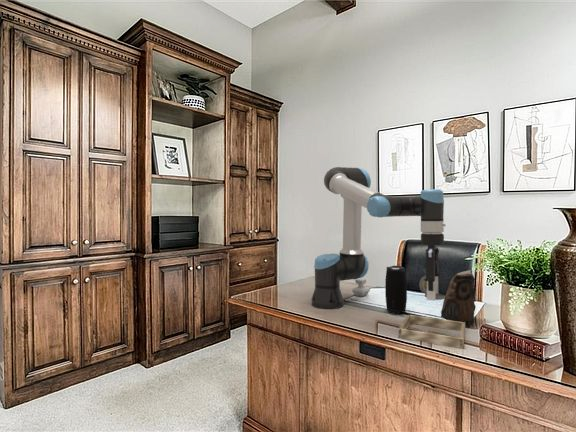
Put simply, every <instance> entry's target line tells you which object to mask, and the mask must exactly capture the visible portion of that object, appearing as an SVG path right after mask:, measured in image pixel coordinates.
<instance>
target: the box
mask: <svg viewBox="0 0 576 432" xmlns="http://www.w3.org/2000/svg"><path fill="white" fill-rule="evenodd" d="M411 324H414V325H419V326H427V327H432V328H440V329H445V330H446V329H447V330H453V331H460V334H459V337H458V336H450V335H445V334H444V335H443V334H439V333H433V332H426V331H419V330H413V329H408V328H409V327H410V325H411ZM465 337H466V326H465V322H458V321H451V320H445V319H444V318H435V317H427V316H422V315H421V316H419V315H415V314H414V315H413V314H407V315H406V317H405V318H404V320H403V322H402V323H401V325H400V326H399V328H398V338H400V339H404V340H409V339H411V340H410V341H415V340H417V341H416V342H421V341H423V343H427V342H428V343H427V344H434V345H438V346H446V347H449V348H450V347H452V348H456V349H463V350H464V347H465V346H464V345H465Z"/></svg>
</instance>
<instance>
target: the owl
mask: <svg viewBox="0 0 576 432" xmlns="http://www.w3.org/2000/svg"><path fill="white" fill-rule="evenodd" d="M475 281H476V278H475V277H474V274H473V270H472V269H469V270H465V271H461V272H457V273H456V274H455V275H454V276H453V277H452V278H451V280H450V282H449V285H448V288H447V289H446V290H447V291H446V293H445V295H444V296H445V299H443V302H442V307H441V310H440V317H441V318H442V317H443V318H442V319H444V320H445V319H446V320H451V321H458V322H465V327H469V326H470V325H473V323H475V321H474V320H475V311H476V307H477V306H476V304H475V301H476V290H475Z"/></svg>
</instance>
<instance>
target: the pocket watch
mask: <svg viewBox="0 0 576 432" xmlns="http://www.w3.org/2000/svg"><path fill="white" fill-rule="evenodd" d="M423 272H424V273H425V275H424V276H422V277H421V278H420V281H419V285H418V286H419V290H420V291H421V292H422V293H424V297H425V298H426V299H427V281H424V279H426V268H424V269H423ZM429 277H430V276H429ZM435 296H436V300H435V301H441V300H444V299H445V296H446V295H445V294H442V293H438V294H437V293H435Z"/></svg>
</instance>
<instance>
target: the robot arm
mask: <svg viewBox="0 0 576 432" xmlns="http://www.w3.org/2000/svg"><path fill="white" fill-rule="evenodd" d="M371 183H372V181H371V176H370V174H369V172H368V171H367V170H366V169H364V168H360V167H343V166H337V167H335V166H334V167H333V168H330V169H329V170H328V171H327V172H326V173H325V175H324V177H323V184H324V186H325V189H326V190H327V191H329V192H330V193H332V194H334V195H340V197H341V198H342V199H343V212H342V213H343V215H342V217H343V218H342V221H343V222H342V248H341V249H340V250H339V253H323V254H320V255H318V256H317V257H315V259H314V266H313V267H314V289H313V290H314V291H313V292H312V296H311V305H312V306H313V307H314V308H317V309H324V310H325V309H330V310H331V309H339V308H342V307H344V296H343V294H342V291H341V289H340V287H341V286H340V282H341V281H342V282H343V281H350V280H357V279H363V277H365V276H366V274H368V271H369V268H370V267H369V261H368V257H367V256H366V255H365V253H364V251H363V250H362V248H361V247H362V246H361V245H362V244H361V243H362V241H361V240H362V211H363V210H362V207H363V208H365V209H366V210H367V212H368V214H369V216H371V217H375V218H376V217H377V218H391V217H392V218H393V217H420V232H421V234H420V243H421V244H422V245H426V246H427V248H426V249H425V264H426V265H425V266H426V267H425V272H426V273H425V275H426V279H424V281H427V285H426V286H427V288H426V289H427V298H426V300H427V301H437V300H436V296H435V293H437V294H439V277H441V273H440V271H439V255H440V249H439V247H438V246H442V245H444V244H445V234H444V233H443V232H445V231H444V229H445V227H446V223H444V219H445V218H444V211H445V210H444V209H445V208H444V206H445V200H444V191H443V190H442V189H436V188H434V189H431V188H430V189H422V190H421V191H420V195H416V196H415V195H414V196H413V195H412V196H409V195H408V196H407V195H405V196H404V195H403V196H401V195H399V196H397V195H395V196H394V195H392V196H391V195H385V194H383V193H381V192H380V191H379V192H378V191H376V190H374V189H373V188H371ZM429 276H430V277H429Z"/></svg>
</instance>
